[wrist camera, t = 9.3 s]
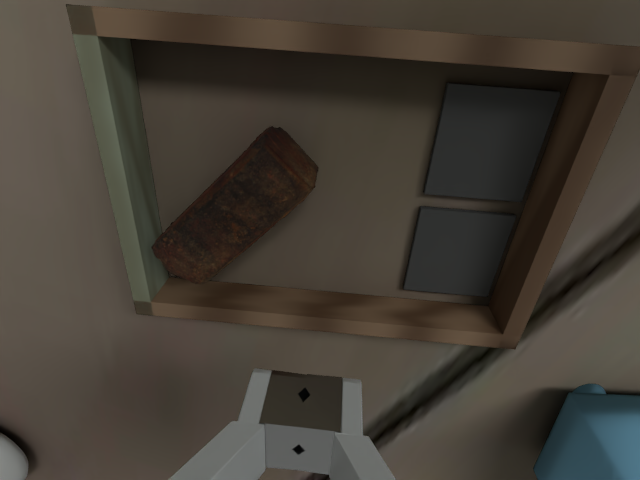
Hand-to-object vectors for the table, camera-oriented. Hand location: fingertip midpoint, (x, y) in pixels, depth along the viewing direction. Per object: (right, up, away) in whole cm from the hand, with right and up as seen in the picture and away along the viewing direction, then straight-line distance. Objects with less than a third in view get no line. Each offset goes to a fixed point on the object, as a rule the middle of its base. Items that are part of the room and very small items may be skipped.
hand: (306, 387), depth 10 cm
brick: (-5, +7, +14) cm, 17 cm away
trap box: (+1, +7, +13) cm, 15 cm away
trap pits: (+10, +7, +13) cm, 18 cm away
